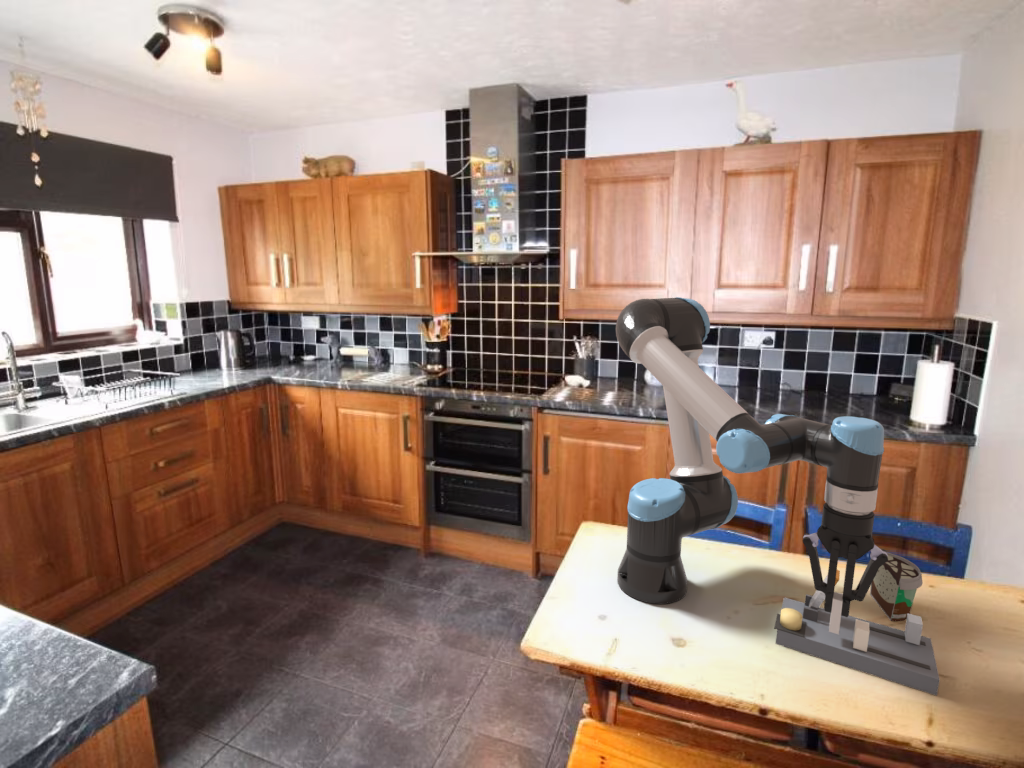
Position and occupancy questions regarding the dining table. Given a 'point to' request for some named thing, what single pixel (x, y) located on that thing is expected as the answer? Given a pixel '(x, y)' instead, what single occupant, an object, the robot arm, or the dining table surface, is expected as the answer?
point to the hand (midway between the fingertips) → (834, 628)
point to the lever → (820, 594)
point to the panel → (883, 652)
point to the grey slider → (913, 629)
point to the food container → (896, 587)
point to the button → (791, 619)
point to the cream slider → (861, 635)
